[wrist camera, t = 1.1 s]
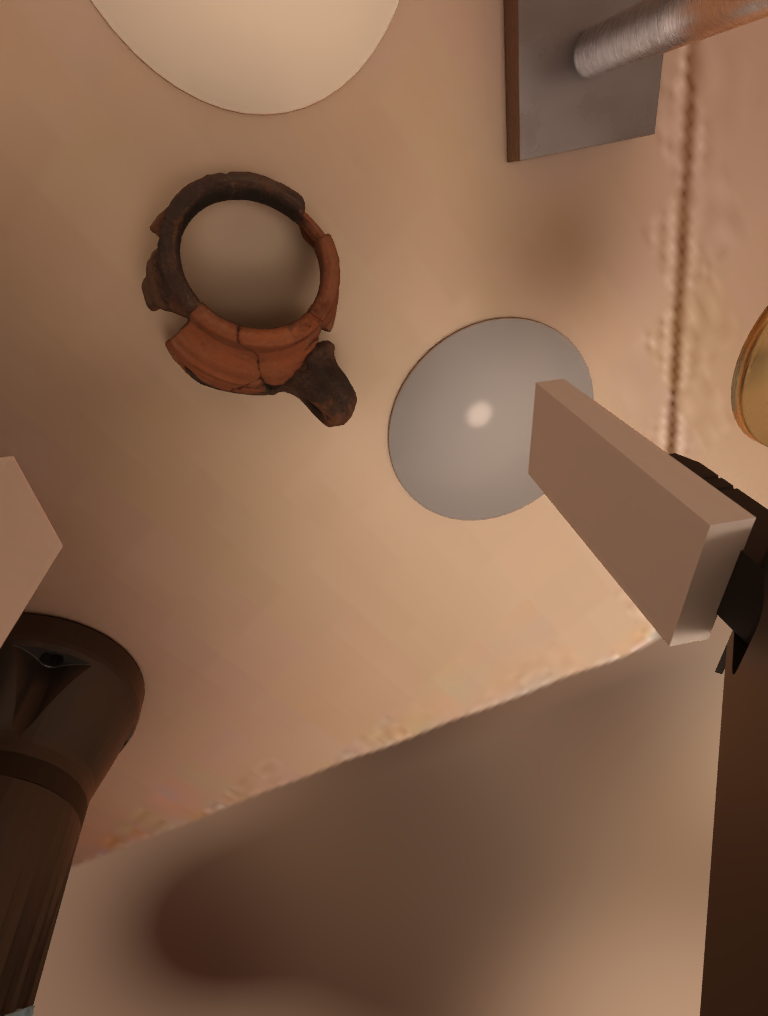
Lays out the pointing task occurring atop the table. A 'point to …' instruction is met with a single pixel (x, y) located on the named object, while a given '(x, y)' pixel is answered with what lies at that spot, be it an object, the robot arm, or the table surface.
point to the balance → (616, 103)
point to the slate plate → (478, 416)
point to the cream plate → (252, 46)
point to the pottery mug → (241, 350)
